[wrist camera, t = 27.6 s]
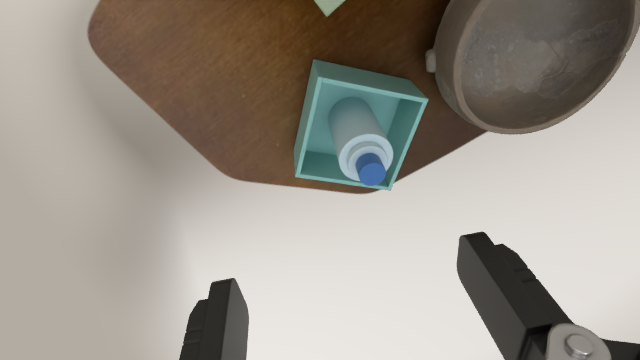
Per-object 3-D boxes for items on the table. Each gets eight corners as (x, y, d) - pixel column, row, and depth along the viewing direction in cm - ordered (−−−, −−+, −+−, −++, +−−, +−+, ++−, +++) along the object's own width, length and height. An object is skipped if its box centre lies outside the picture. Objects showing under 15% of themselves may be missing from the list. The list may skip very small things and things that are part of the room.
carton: (293, 150, 46) (295, 177, 40) (313, 58, 39) (318, 76, 34) (378, 163, 48) (390, 190, 43) (409, 79, 42) (428, 99, 36)
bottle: (327, 139, 45) (341, 200, 34) (328, 97, 42) (344, 150, 31) (370, 137, 45) (397, 197, 34) (374, 96, 42) (405, 147, 31)
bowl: (394, 87, 42) (422, 122, 34) (463, -91, 33) (524, -103, 25) (513, 116, 46) (564, 154, 38) (605, -36, 37) (699, -31, 28)
